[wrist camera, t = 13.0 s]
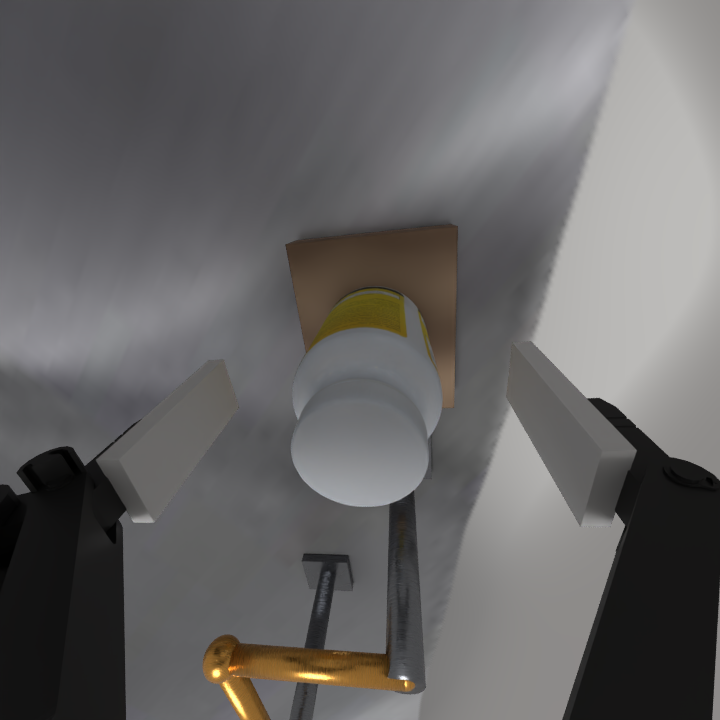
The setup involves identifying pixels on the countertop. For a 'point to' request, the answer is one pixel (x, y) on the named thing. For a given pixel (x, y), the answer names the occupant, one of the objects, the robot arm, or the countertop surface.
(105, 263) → the countertop surface
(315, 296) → the pad
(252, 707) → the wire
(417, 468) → the pill bottle
